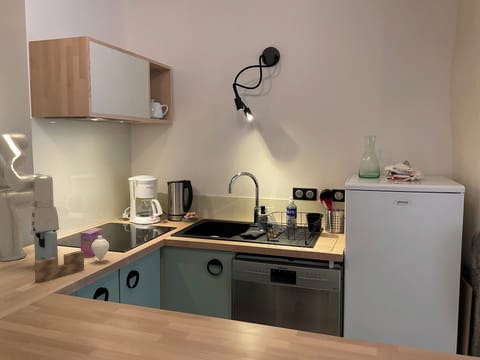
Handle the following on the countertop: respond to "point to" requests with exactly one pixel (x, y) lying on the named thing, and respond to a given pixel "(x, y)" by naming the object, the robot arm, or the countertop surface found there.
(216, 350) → the countertop surface
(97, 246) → the spinning top
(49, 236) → the grey slotted plate
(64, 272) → the walnut slotted plate
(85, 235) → the box
